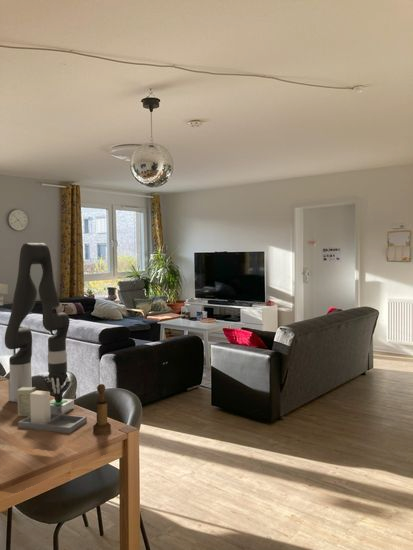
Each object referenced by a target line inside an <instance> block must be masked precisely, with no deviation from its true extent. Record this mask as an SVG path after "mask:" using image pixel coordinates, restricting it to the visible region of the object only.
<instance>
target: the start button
mask: <svg viewBox="0 0 413 550" xmlns="http://www.w3.org/2000/svg"><path fill="white" fill-rule="evenodd" d="M65 402H67V400H62V401H61V402H56V401H53V402H51V403H50V404H55V405H61V404H63V403H65Z"/></svg>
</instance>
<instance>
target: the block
mask: <svg viewBox="0 0 413 550" xmlns="http://www.w3.org/2000/svg"><path fill="white" fill-rule="evenodd" d="M50 401H51V391H48V390H47V391H45V390H36V391H35V392H32V393H30V405H31V423H40V424H45V423H46V422H48V421H50V420H51V412H50Z"/></svg>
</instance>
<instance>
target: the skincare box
mask: <svg viewBox="0 0 413 550" xmlns="http://www.w3.org/2000/svg"><path fill="white" fill-rule="evenodd" d="M36 389H37V387H36V386H32V387H22V388H20V389H18V390H17V402H16V403H17V412H18V413H17V415H18V417H28V416H30V415H31V405H30V393H32V392H35V391H37V390H36Z"/></svg>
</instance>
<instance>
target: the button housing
mask: <svg viewBox="0 0 413 550" xmlns="http://www.w3.org/2000/svg"><path fill="white" fill-rule="evenodd" d="M62 400H67V402H65V403H63V404H61V405H55V404H50V412H51V413H56V414H66V413H68V412H70V411H72V410H73V409H75V400H74V399H69V398H63V399H62ZM53 401H55V398H53V399H50V403H51V402H53Z"/></svg>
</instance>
